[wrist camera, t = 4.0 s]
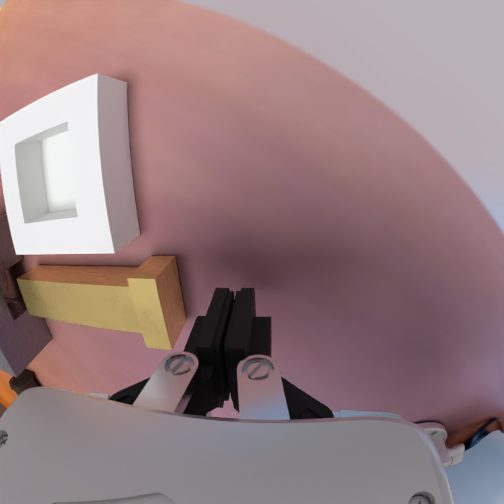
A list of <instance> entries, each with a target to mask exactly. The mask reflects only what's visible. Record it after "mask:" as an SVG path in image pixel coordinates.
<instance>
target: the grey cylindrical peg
mask: <svg viewBox="0 0 504 504" xmlns="http://www.w3.org/2000/svg"><path fill="white" fill-rule="evenodd" d="M0 287H1V290H2V293H3V294H4V293H5V292H6V291H7V290H8V282H7V279H6V276H5V273H4V271H3V272H1V273H0Z"/></svg>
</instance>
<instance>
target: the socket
mask: <svg viewBox="0 0 504 504" xmlns="http://www.w3.org/2000/svg"><path fill="white" fill-rule="evenodd" d="M22 259H23V255H16V252H15V248H14V244H13V240H12V236H11V232H10V227H9V222H8V217H7V213H6V214H1V215H0V273H1V272H3V271H4V270H6V269H8V268H9V267H11V266H12V265H14V264H16V263H17V262H19V261H20V260H22ZM52 339H53V338H52V336H51V334H50V332H49V329H48V327H47V325H46V322H45V320H44V318H43V317H39V316H34V315H30V314H29V312H28V310H27V307H26V304H25V302H24V299H21V298H15V299H14V300H12V299H7V298H4V295H3V293H2V290H1V287H0V369H1V370H3V371H5V372H7V373H9V374H11V375H13V376H15V377H18V376H19V375H20V374H21V372H22V371H23V370H24V369H25V368H26V367H27V366H28V365H29V363H30V362H31V361H32V360H33V359H34V358H35V357H36V356H37V355H38V354H39V353H40V351H41V350H42V349H43V348H44V347H45V346H46V345H47V344H48V343H49V342H50V341H51V340H52Z"/></svg>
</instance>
